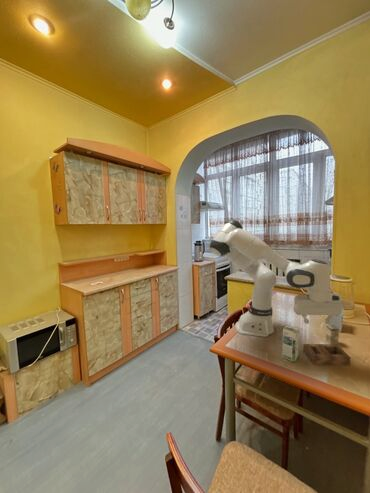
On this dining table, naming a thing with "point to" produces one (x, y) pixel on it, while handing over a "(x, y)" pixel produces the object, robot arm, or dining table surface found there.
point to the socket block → (326, 354)
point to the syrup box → (290, 343)
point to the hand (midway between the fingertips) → (316, 323)
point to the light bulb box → (337, 321)
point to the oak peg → (332, 334)
